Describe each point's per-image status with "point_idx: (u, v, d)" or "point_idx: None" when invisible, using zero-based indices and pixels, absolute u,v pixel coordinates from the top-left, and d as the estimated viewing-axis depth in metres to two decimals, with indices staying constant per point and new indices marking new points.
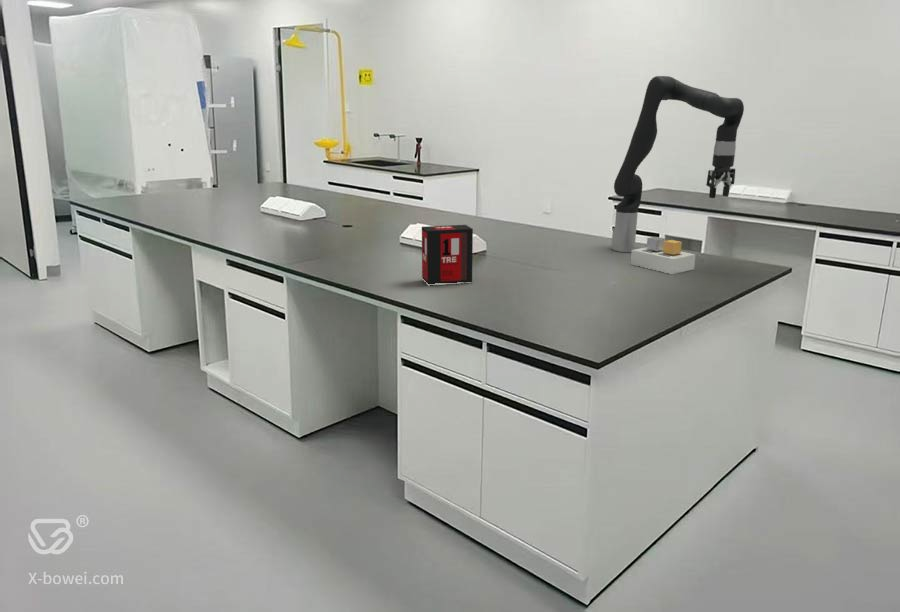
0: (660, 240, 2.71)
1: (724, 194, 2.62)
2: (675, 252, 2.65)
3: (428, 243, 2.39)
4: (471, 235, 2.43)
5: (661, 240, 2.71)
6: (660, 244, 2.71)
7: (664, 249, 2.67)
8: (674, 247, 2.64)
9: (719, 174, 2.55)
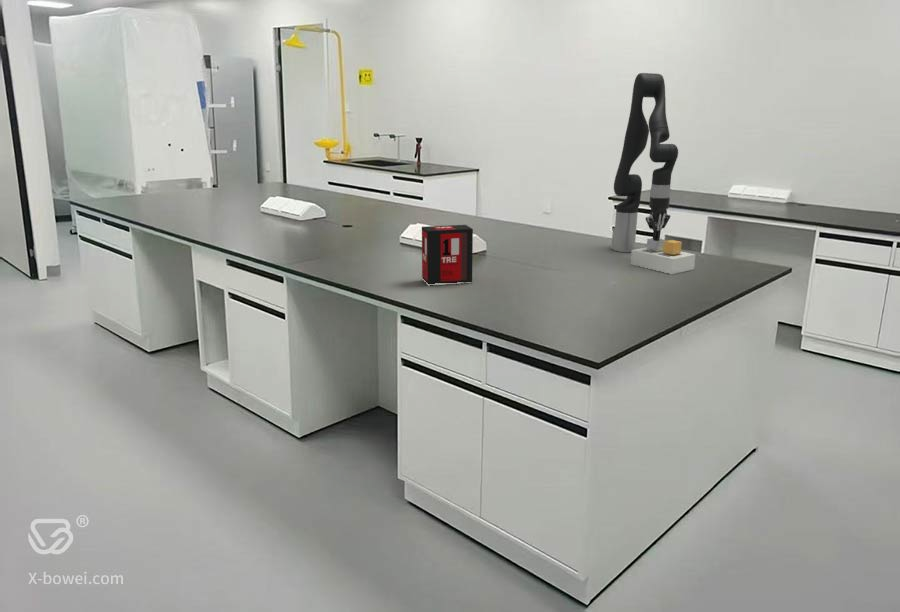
0: (660, 241, 2.71)
1: None
2: (675, 252, 2.65)
3: (428, 243, 2.39)
4: (471, 235, 2.43)
5: (661, 241, 2.71)
6: (659, 245, 2.71)
7: (664, 249, 2.67)
8: (674, 247, 2.64)
9: (656, 218, 2.68)
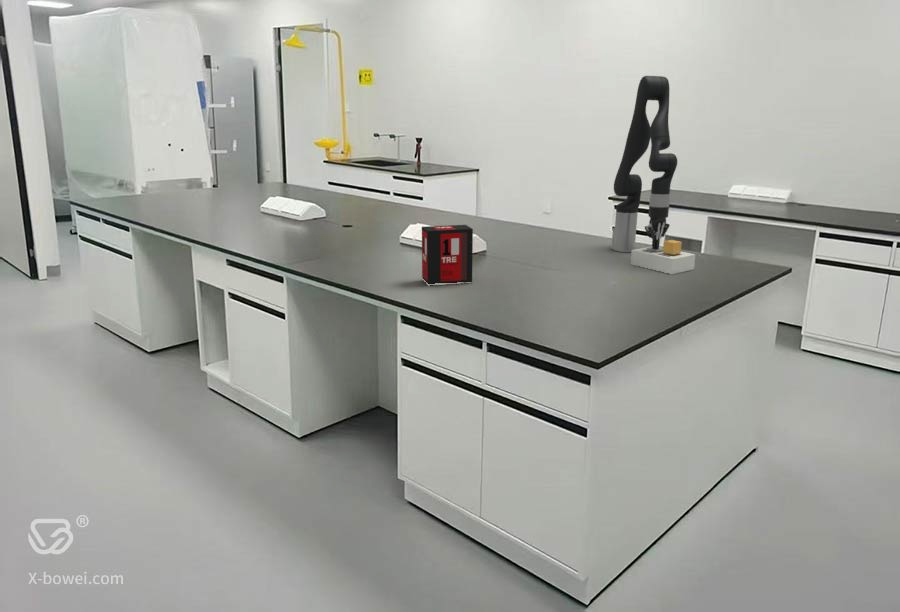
0: (659, 250, 2.72)
1: None
2: (675, 252, 2.65)
3: (428, 243, 2.39)
4: (471, 235, 2.43)
5: (660, 250, 2.72)
6: None
7: (664, 249, 2.67)
8: (674, 247, 2.64)
9: (655, 227, 2.69)
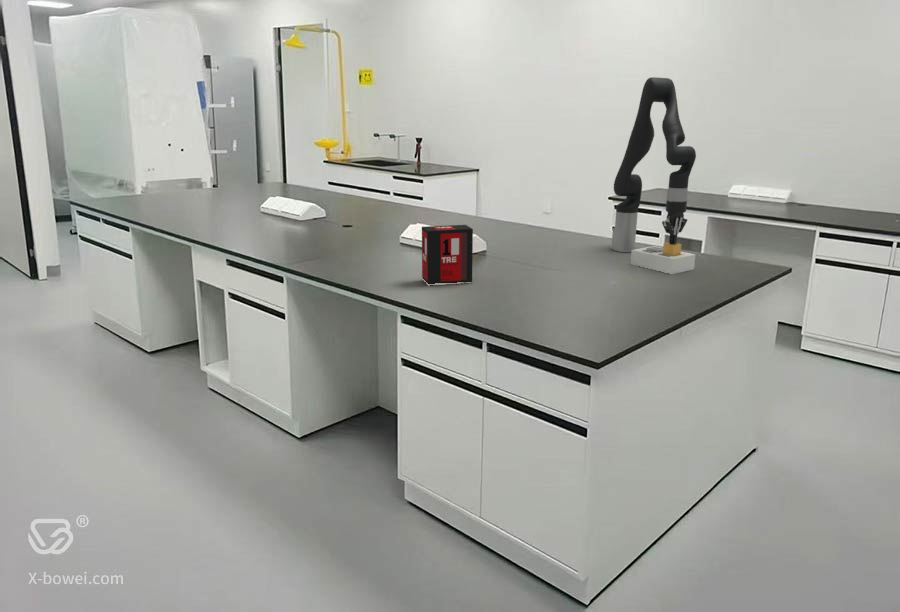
0: (659, 250, 2.72)
1: None
2: (675, 254, 2.66)
3: (428, 243, 2.39)
4: (471, 235, 2.43)
5: (660, 250, 2.72)
6: None
7: (664, 251, 2.68)
8: (674, 249, 2.64)
9: (673, 222, 2.62)
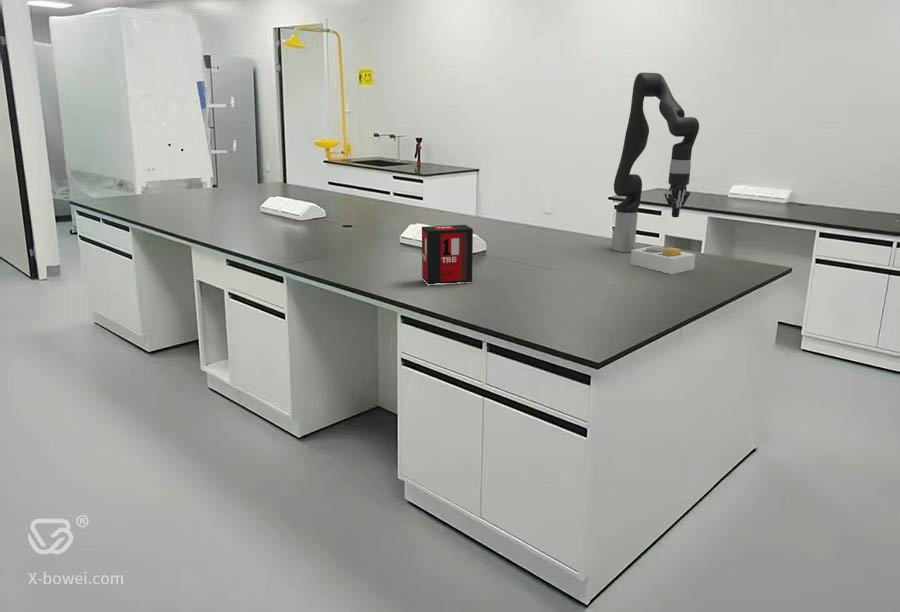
0: (659, 250, 2.72)
1: None
2: None
3: (428, 243, 2.39)
4: (471, 235, 2.43)
5: (660, 250, 2.72)
6: None
7: None
8: (673, 254, 2.65)
9: (675, 195, 2.59)
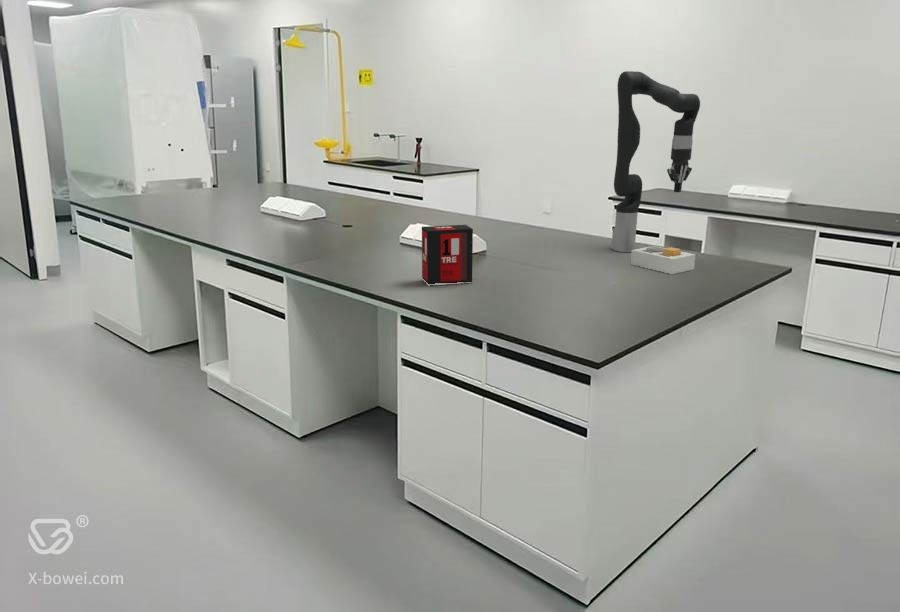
0: (659, 250, 2.72)
1: None
2: None
3: (428, 243, 2.39)
4: (471, 235, 2.43)
5: (660, 250, 2.72)
6: None
7: None
8: (673, 254, 2.65)
9: (677, 170, 2.66)
